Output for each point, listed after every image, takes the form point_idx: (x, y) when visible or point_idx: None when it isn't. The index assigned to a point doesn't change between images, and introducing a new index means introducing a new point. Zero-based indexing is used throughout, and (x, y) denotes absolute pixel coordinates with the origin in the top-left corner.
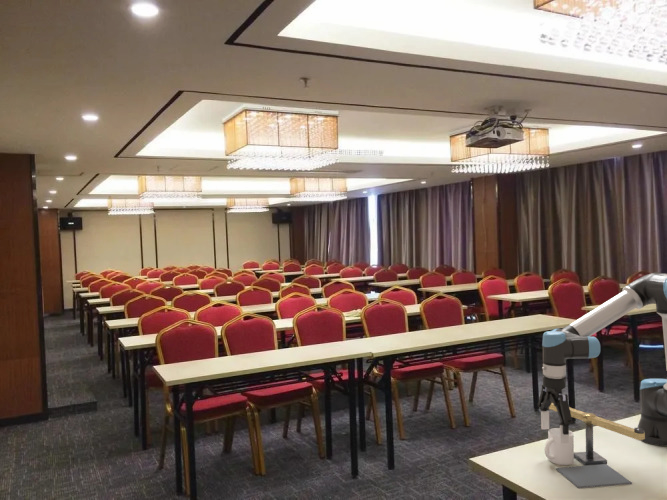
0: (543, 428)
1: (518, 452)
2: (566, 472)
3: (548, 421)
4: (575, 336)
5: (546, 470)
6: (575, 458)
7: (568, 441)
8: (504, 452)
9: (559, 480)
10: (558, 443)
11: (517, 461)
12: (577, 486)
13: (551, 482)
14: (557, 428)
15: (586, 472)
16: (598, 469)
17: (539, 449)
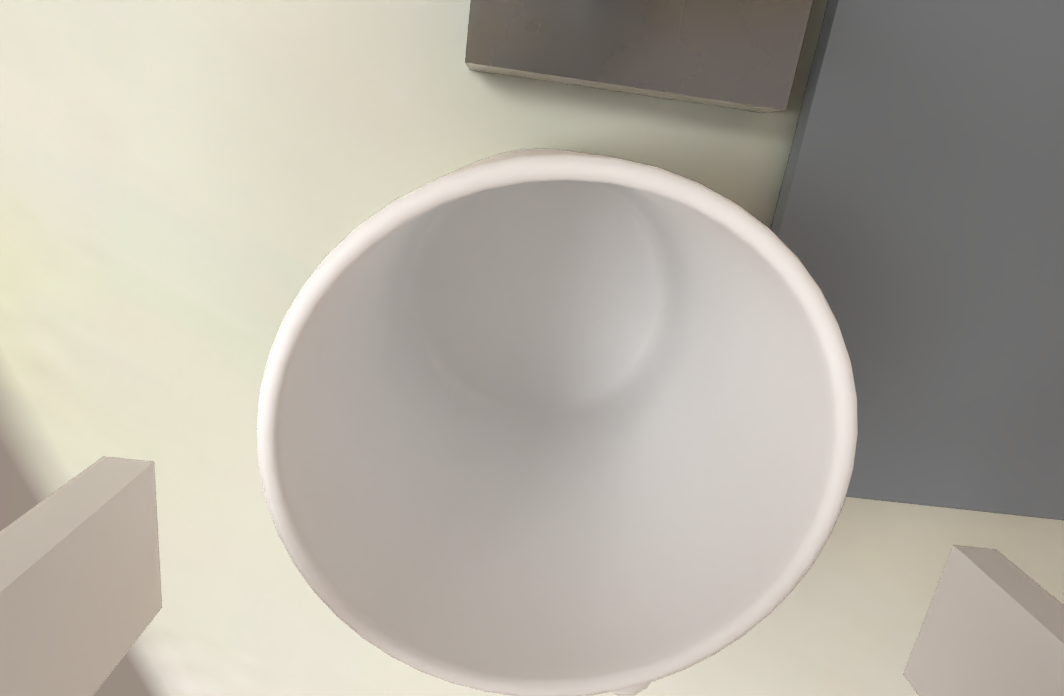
0: (150, 599)
1: (215, 581)
2: None
3: (7, 604)
4: None
5: None
6: (533, 78)
7: (1023, 577)
8: (194, 691)
9: (908, 569)
10: (695, 533)
11: (425, 683)
12: None
13: (904, 644)
14: (282, 380)
15: (951, 255)
16: (963, 50)
17: (161, 336)
